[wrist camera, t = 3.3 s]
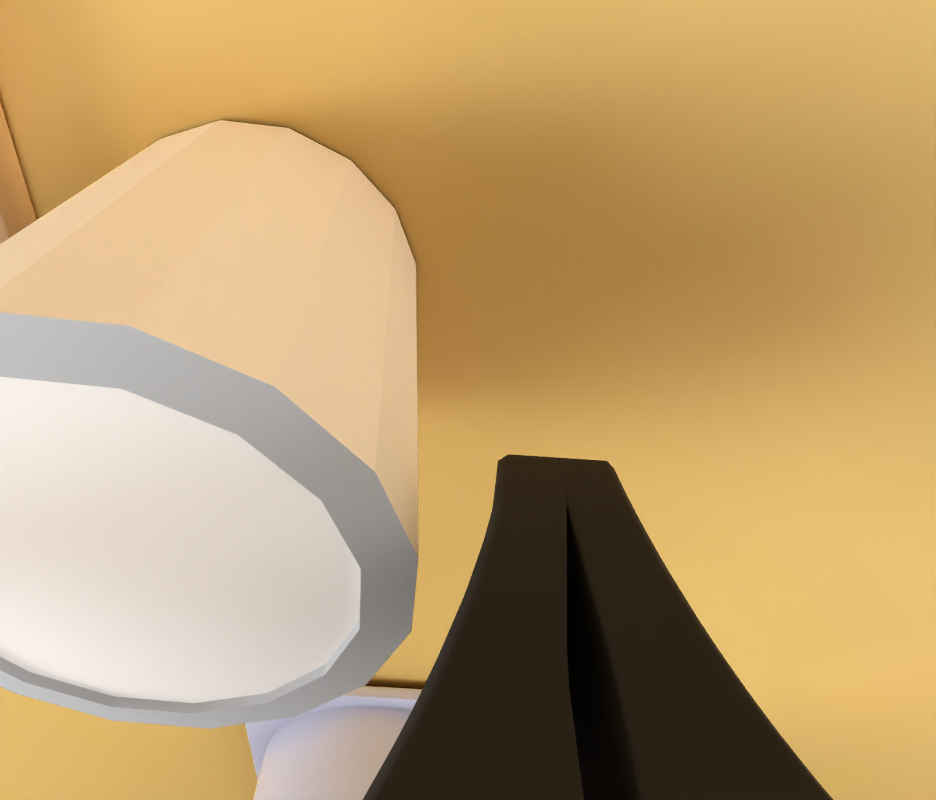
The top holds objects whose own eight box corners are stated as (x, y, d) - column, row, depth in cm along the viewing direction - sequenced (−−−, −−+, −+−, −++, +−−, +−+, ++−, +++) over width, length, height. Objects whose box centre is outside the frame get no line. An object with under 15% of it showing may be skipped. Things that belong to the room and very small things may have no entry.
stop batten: (122, 493, 18) (105, 525, 17) (70, 490, 18) (50, 521, 17) (-71, -138, 10) (-117, -132, 10) (-160, -145, 10) (-215, -139, 10)
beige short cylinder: (-15, 197, 13) (-373, 476, 8) (310, -6, 11) (128, 183, 6) (233, 460, 17) (107, 776, 12) (514, 344, 15) (522, 664, 9)
